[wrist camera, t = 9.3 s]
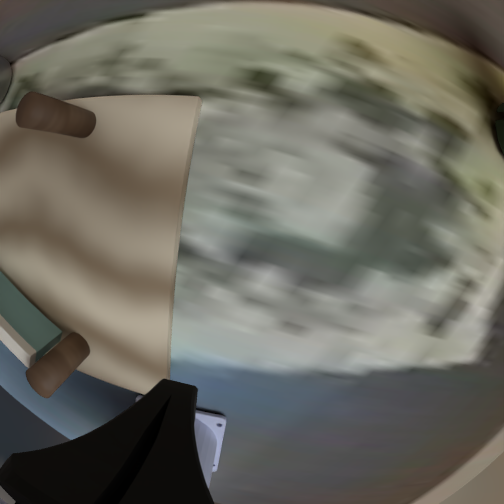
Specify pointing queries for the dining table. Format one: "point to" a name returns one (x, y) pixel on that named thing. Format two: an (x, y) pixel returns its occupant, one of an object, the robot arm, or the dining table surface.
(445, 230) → the dining table surface
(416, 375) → the dining table surface
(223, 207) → the dining table surface
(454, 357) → the dining table surface
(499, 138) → the character mug
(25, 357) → the gate
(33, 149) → the gate frame
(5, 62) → the plastic bottle
